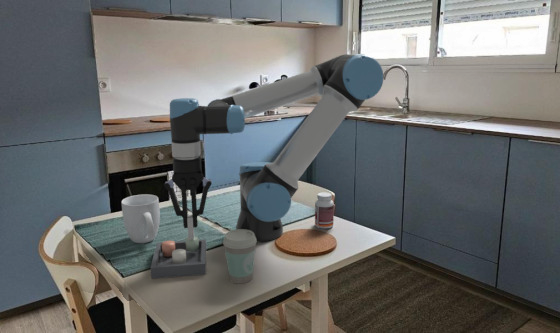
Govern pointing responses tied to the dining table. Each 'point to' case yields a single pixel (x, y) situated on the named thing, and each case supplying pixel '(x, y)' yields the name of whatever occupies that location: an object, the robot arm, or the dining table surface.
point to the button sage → (192, 244)
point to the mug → (141, 217)
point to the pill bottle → (324, 211)
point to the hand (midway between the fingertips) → (191, 237)
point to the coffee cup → (240, 254)
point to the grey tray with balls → (166, 268)
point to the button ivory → (179, 256)
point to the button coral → (168, 248)
